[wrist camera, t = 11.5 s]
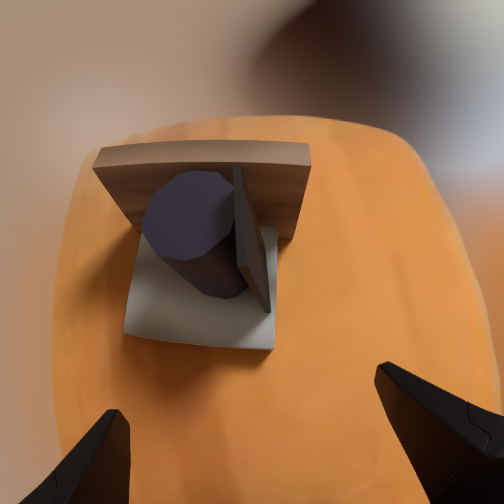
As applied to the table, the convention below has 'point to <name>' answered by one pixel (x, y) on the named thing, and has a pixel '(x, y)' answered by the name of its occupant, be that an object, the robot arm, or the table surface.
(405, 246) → the table surface
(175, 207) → the dark grey mug
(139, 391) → the table surface
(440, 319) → the table surface
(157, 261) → the wall board
